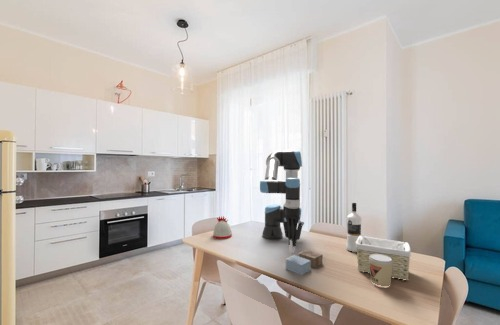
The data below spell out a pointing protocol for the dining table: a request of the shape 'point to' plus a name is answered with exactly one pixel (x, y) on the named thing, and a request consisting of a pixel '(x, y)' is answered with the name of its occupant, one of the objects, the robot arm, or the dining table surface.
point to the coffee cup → (380, 269)
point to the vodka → (353, 229)
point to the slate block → (298, 264)
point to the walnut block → (312, 257)
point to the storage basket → (384, 247)
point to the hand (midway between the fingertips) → (292, 251)
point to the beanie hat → (222, 229)
